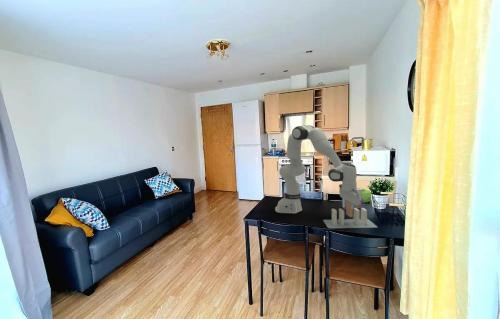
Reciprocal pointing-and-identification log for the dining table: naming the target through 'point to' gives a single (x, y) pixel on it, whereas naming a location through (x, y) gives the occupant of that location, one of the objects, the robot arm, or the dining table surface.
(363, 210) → the domino
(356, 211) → the domino
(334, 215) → the domino
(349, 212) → the domino
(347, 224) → the mat
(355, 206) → the candy box
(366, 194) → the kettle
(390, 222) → the dining table surface
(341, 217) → the domino
